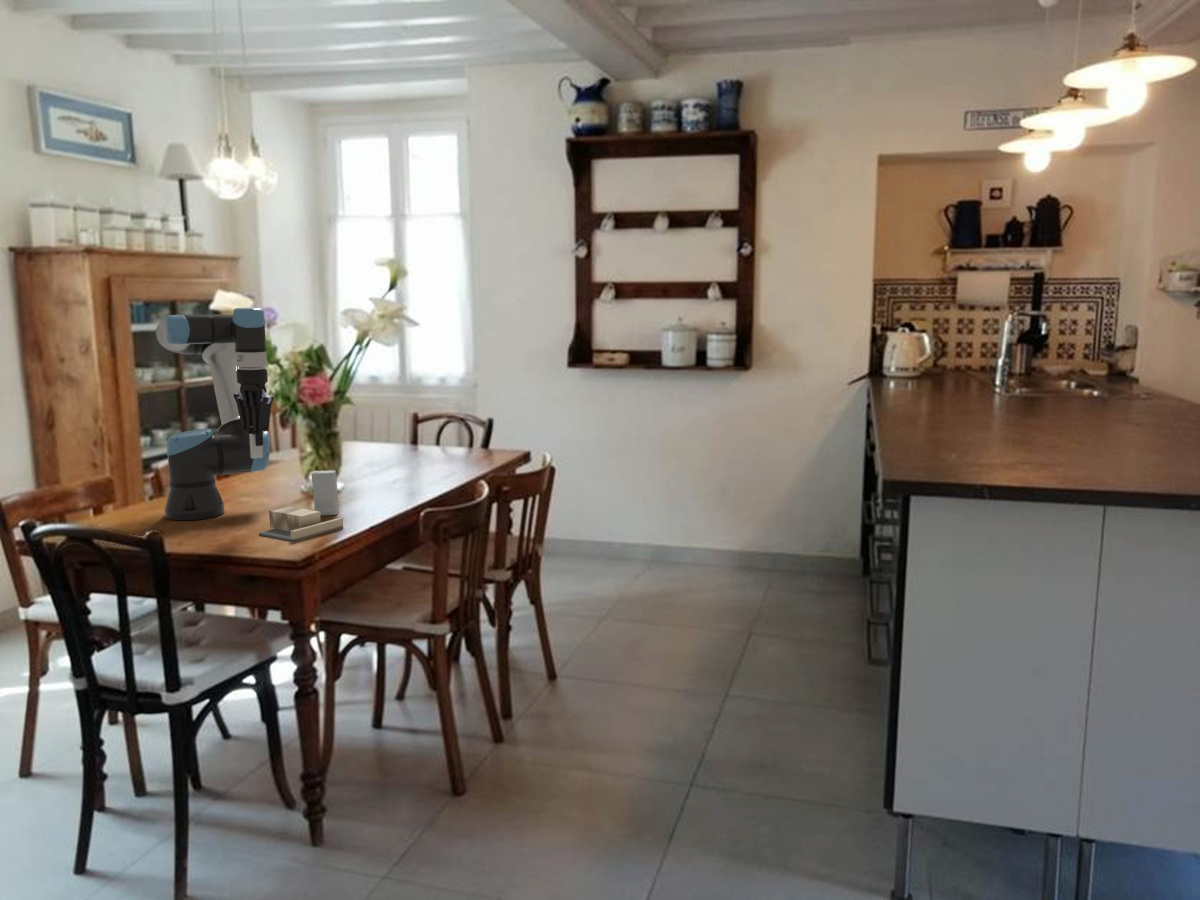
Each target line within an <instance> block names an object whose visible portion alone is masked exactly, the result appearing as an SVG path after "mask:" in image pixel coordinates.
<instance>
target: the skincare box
mask: <svg viewBox="0 0 1200 900" xmlns="http://www.w3.org/2000/svg"><path fill="white" fill-rule="evenodd" d="M337 482H338V479H337V471H336V470H314V471H313V472H312V473H311V484H312V495H313V497H312V498H313V507H314V508H313V509H314V510H313V511H319V512H320V516H336V515H338V514H339V513H340V509H339V506H340V505H339V494H338V493H339V491H338V483H337Z"/></svg>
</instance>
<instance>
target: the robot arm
mask: <svg viewBox="0 0 1200 900" xmlns="http://www.w3.org/2000/svg"><path fill="white" fill-rule="evenodd" d="M155 339H156V341H157V342H158V344H159V345H160V346H161V347H162V348H163V349H165V350H166V351H169V352H171V353H176V354H181V355H201V357H202V360H203V361H204V362H205V363H206V364H208V365H209V368H210V373H211V378H212V382H213V383H212V384H213V387H214V393H215V394H214V395H215V398H216V405H217V409H218V413H219V418H220V423H221V425H220V426H219V427H218V429H217V433H214V432H213V430H212V428H197V429H191V430H185V431H181V432H178V433H175V434H172V435H171V436H169V437H168V438H167V440H166V456H167V465H168V477H169V478H168V480H169V491H168V492H169V493H168V496H167V500H166V503H165V507H164V517H165V519H168V520H173V521H195V520H203V519H204V520H206V519H210V518H214V517H218V516H221V515H223V514H225V503H224V502H223V498H222V497H221V494H220V491H219V489H218V488H217V483H216V482H217V481H216V480H217V479H216V476H223V475H232V474H243V473H251V474H252V473H254V472H261V471H264V470H266V469H267V468H268V466H269V461H270V452H271V451H270V450H271V445H270V443H271V441H270V440H271V439H270V432H269V428H270V420H271V414H272V413H271V412H272V406H273V405H272V404H273V401H274V400H275V399H274V398H275V397H274V396H273V395H269V394H268V393H267V388H266V384H267V383H268V381H269V380H268V379H269V377H268V375H269V374H268V370H267V368H266V367H267V366H268V356H267V342H266V341H267V340H266V319H265V312H264V310H263V309H262V308H260V307H236V308H234V309H233V312H232V314H227V313H226V314H181V313H180V314H179V313H178V314H169V315H166V317H165V318H164V319H163V320H162V321H160V322H159V323H158V325H157V326H156V329H155ZM236 366H237V371H236ZM238 367H239V369H238Z"/></svg>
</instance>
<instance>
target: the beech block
mask: <svg viewBox="0 0 1200 900" xmlns="http://www.w3.org/2000/svg"><path fill="white" fill-rule="evenodd" d="M268 513H269V514H268V515H269V528H271V529H280V530H285V531H292V530H296V529H300V528H303V527H307V526H311V525H315V524H318V523H321V522H322V521H321V520H322V519H321V515H320V512H319V511H314V510H312V509H307V508H301V507H295V506H284V507H279V508H276V509H275V508H274V509H272V510H271V509H270V510H269V511H268Z"/></svg>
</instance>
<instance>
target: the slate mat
mask: <svg viewBox="0 0 1200 900" xmlns="http://www.w3.org/2000/svg"><path fill="white" fill-rule="evenodd" d="M342 529H344V519H343V518H341V517H338V518H334V519H330V520H325V521H321V523H318V524H315V525H311V526H307V527H303V528H300V529H296V530H292V531H285V530H280V529H275V528H271V529H268V530H265V531H261V532H258V535H259V536H263V537H267V538H273V539H278V540H282V541H289V542H292V543H293V542H299V541H302V540H303V541H304V540H306V539H309V538H313V537H316V536H319V535H324V534H327V533H331V532H335V531H338V530H342Z"/></svg>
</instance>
